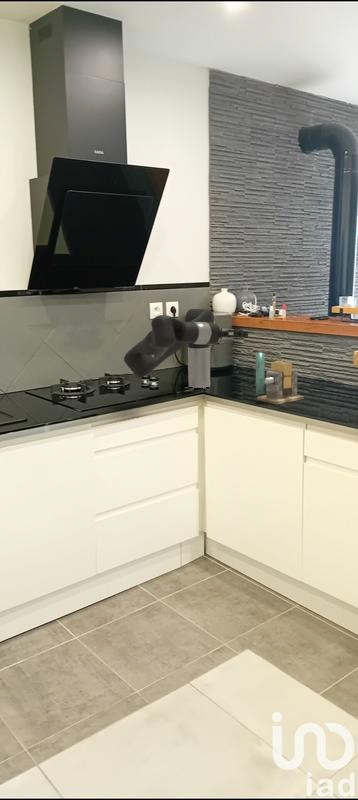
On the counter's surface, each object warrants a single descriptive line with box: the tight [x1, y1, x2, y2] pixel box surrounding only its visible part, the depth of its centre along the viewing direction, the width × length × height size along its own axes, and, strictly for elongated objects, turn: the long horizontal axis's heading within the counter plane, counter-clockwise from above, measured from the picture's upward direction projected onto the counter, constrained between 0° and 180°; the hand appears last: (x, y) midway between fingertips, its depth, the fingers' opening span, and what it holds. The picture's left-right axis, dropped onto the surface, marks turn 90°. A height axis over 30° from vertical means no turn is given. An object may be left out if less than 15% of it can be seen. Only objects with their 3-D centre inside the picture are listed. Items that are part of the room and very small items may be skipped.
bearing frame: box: [256, 368, 304, 405], centre depth 237 cm, size 14×11×11 cm
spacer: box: [270, 360, 293, 389], centre depth 236 cm, size 4×7×9 cm, turn 35°
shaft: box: [255, 351, 275, 395], centre depth 234 cm, size 18×3×15 cm, turn 125°
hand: (239, 334), depth 220 cm, fingers open, 8 cm apart
